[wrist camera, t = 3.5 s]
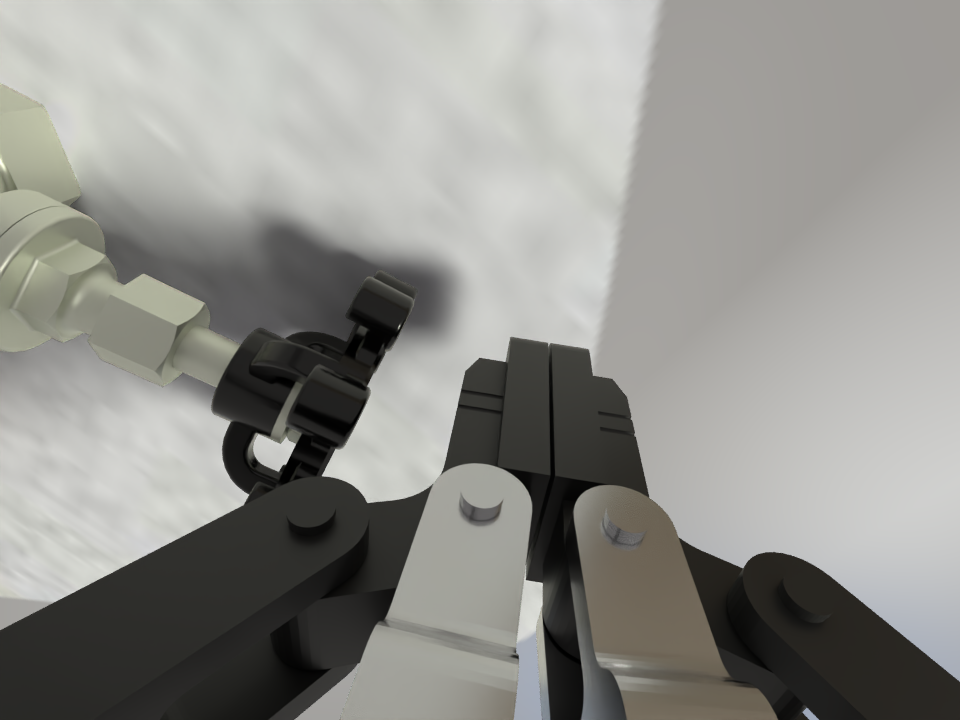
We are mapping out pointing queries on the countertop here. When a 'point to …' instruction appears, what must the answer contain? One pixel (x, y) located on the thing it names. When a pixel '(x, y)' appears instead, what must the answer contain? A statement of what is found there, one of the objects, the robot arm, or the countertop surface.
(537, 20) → the countertop surface
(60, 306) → the valve
